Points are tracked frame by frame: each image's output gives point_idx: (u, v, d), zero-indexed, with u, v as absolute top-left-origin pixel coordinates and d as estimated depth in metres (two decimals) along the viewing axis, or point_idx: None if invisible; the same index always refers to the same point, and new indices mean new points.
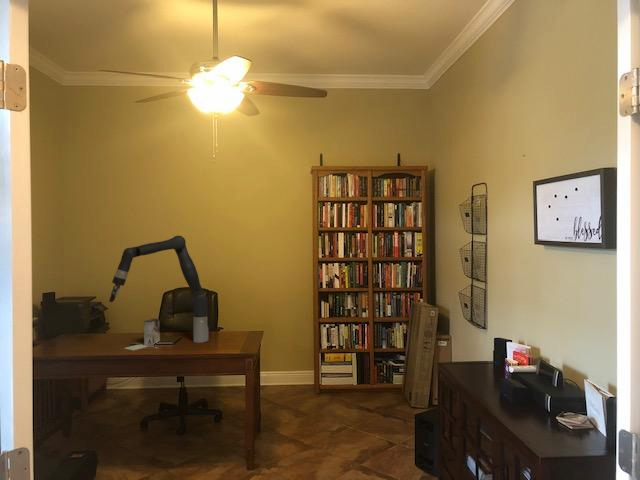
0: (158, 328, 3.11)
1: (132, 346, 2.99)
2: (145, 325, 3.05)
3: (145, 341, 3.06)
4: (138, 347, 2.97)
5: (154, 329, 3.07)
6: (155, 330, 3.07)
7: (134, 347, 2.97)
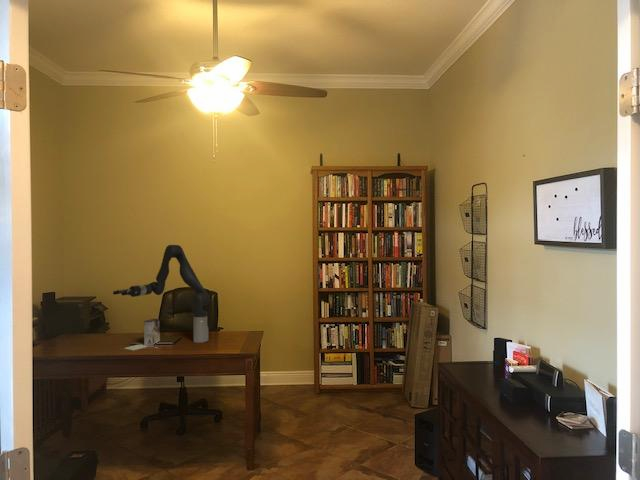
0: (158, 328, 3.11)
1: (132, 346, 2.99)
2: (145, 325, 3.05)
3: (145, 341, 3.06)
4: (138, 347, 2.97)
5: (154, 329, 3.07)
6: (155, 330, 3.07)
7: (134, 347, 2.97)
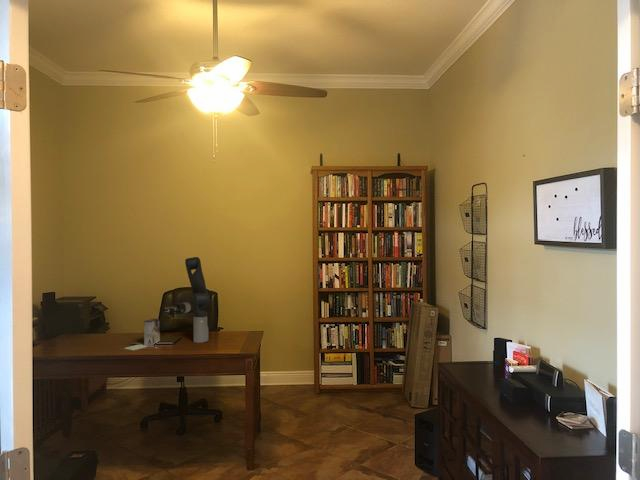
0: (158, 328, 3.11)
1: (132, 346, 2.99)
2: (145, 325, 3.05)
3: (145, 341, 3.06)
4: (138, 347, 2.97)
5: (154, 329, 3.07)
6: (155, 330, 3.07)
7: (134, 347, 2.97)
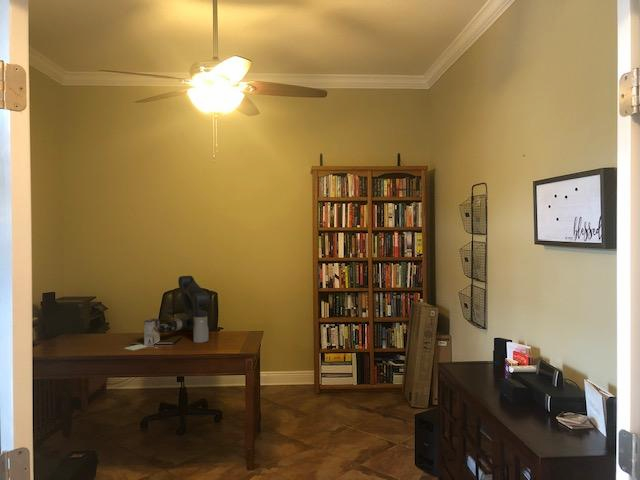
0: (158, 328, 3.11)
1: (132, 346, 2.99)
2: (145, 325, 3.05)
3: (145, 341, 3.06)
4: (138, 347, 2.97)
5: (154, 329, 3.07)
6: (155, 330, 3.07)
7: (134, 347, 2.97)
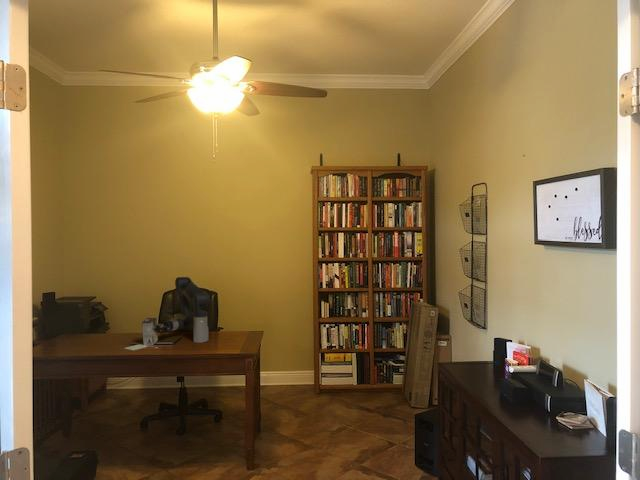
0: (155, 327, 3.10)
1: (132, 346, 2.99)
2: (143, 326, 3.02)
3: (144, 341, 3.04)
4: (138, 347, 2.97)
5: (153, 329, 3.05)
6: (153, 330, 3.06)
7: (134, 347, 2.97)
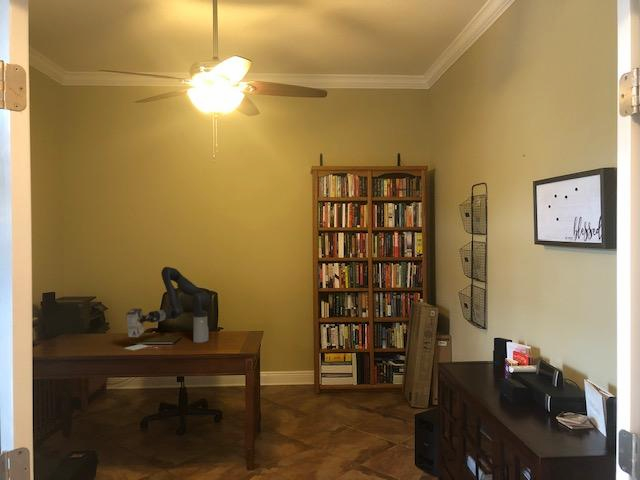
0: (141, 318, 3.00)
1: (132, 346, 2.99)
2: (128, 317, 2.92)
3: (129, 333, 2.95)
4: (138, 347, 2.97)
5: (138, 320, 2.95)
6: (138, 321, 2.96)
7: (134, 347, 2.97)
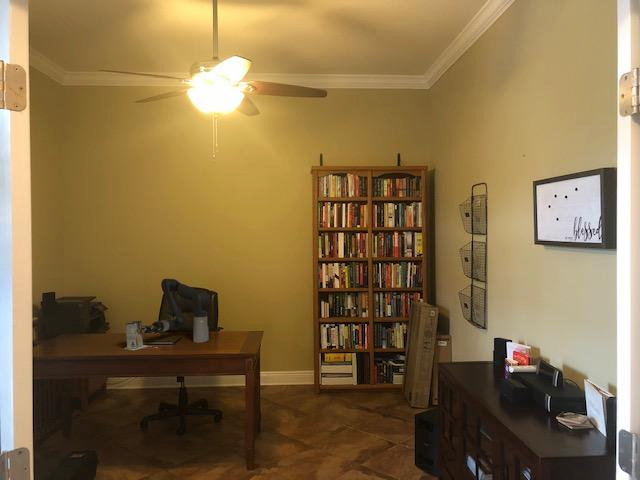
0: (140, 330, 3.00)
1: None
2: (127, 328, 2.93)
3: (128, 344, 2.94)
4: (138, 347, 2.97)
5: (137, 331, 2.96)
6: (138, 332, 2.96)
7: None
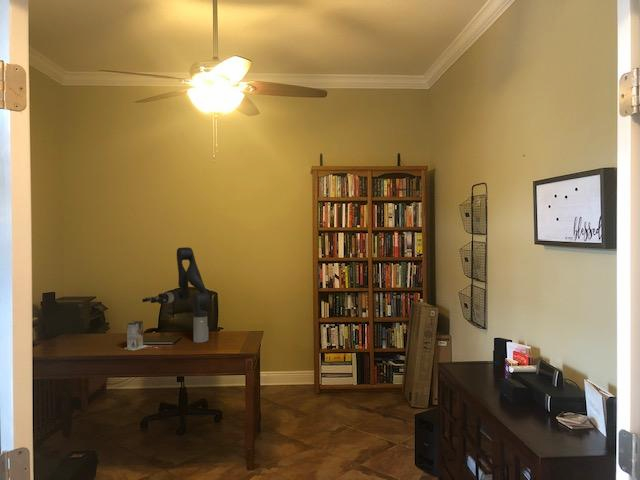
0: (141, 331, 3.00)
1: None
2: (128, 328, 2.93)
3: (128, 344, 2.94)
4: None
5: (138, 332, 2.96)
6: (138, 333, 2.96)
7: None
